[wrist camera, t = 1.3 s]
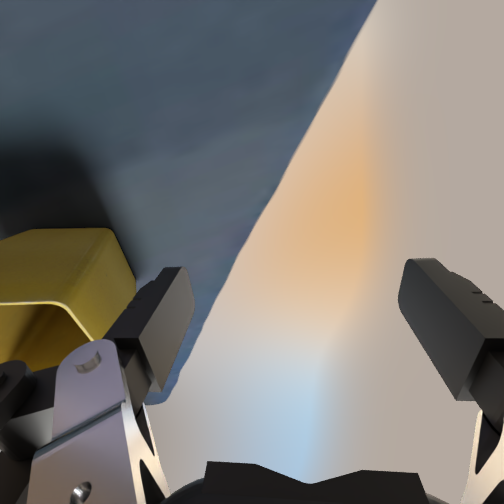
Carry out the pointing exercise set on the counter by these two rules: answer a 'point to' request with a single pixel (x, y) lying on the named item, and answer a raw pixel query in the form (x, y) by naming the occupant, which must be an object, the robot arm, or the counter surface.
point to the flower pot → (59, 292)
